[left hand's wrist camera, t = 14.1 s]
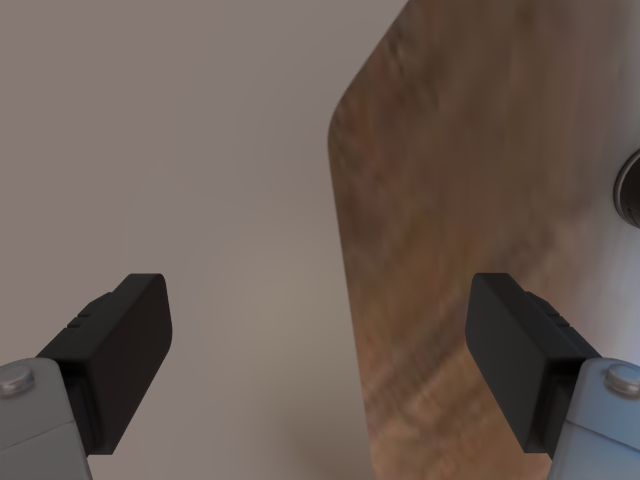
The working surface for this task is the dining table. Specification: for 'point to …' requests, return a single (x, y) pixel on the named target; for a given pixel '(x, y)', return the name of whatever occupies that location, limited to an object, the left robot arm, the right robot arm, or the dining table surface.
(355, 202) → the dining table surface
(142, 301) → the left robot arm
